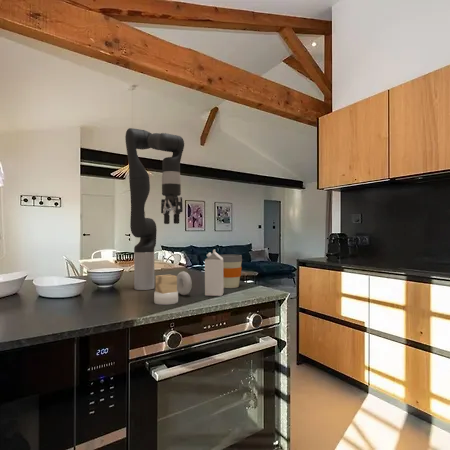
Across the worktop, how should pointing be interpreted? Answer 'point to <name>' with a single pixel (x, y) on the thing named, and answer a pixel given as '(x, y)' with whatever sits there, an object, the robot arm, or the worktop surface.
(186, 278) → the donut
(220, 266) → the milk carton
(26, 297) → the worktop surface
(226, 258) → the reusable coffee cup
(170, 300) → the pedestal
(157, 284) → the maple cube
